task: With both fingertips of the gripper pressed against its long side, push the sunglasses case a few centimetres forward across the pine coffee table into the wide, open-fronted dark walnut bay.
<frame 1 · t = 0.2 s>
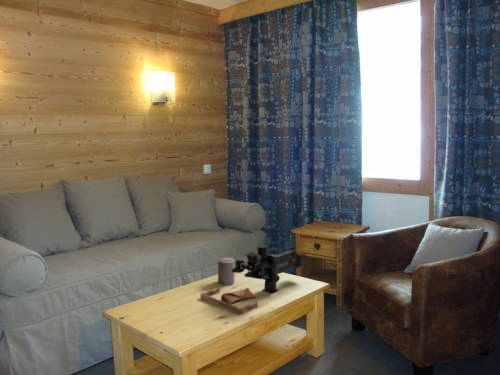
hand: (238, 273, 234), 16 cm above the table, tool horizontal, fingers open, 9 cm apart
sunglasses case: (239, 299, 243), on the table
pillar candle: (226, 282, 267), on the table
walnut bay: (228, 302, 238), on the table
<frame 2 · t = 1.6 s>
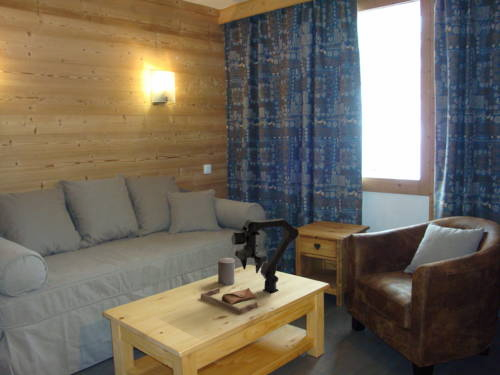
hand: (250, 271, 248), 13 cm above the table, tool pointing down, fingers open, 9 cm apart
nothing on the table moved.
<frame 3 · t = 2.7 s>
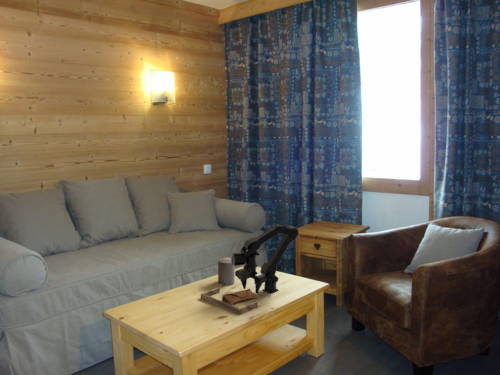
hand: (250, 290, 250), 2 cm above the table, tool pointing down, fingers open, 9 cm apart
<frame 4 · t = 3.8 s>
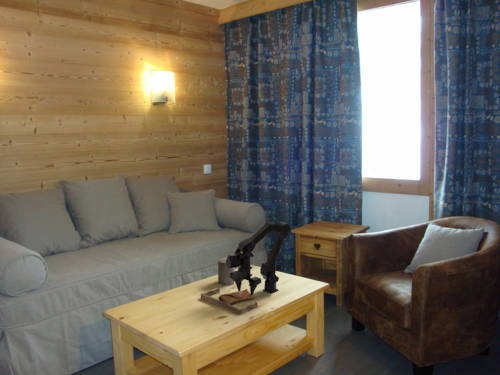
hand: (245, 293, 247), 2 cm above the table, tool pointing down, fingers open, 9 cm apart
sunglasses case: (237, 301, 241), on the table, touching gripper
everything else where it was.
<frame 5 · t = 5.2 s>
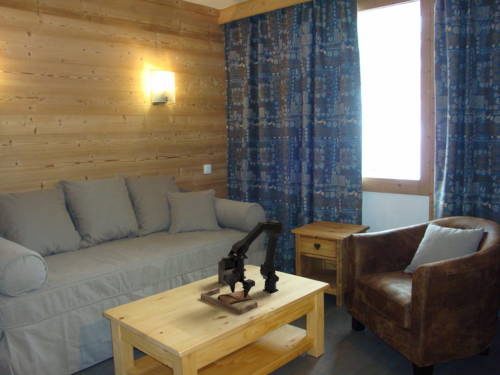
hand: (239, 295, 243), 2 cm above the table, tool pointing down, fingers open, 9 cm apart
sunglasses case: (235, 301, 241), on the table
everything else where it was.
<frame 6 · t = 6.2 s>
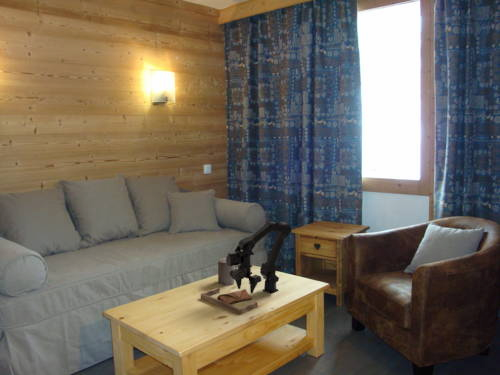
hand: (245, 291, 247), 3 cm above the table, tool pointing down, fingers open, 9 cm apart
nothing on the table moved.
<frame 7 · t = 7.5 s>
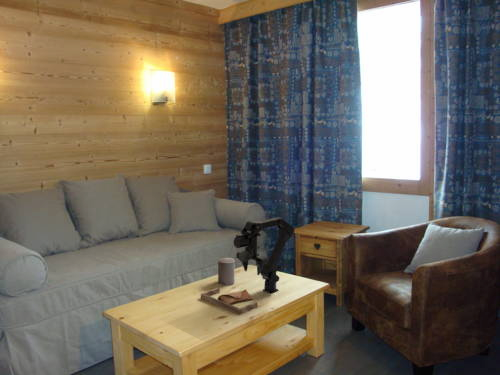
hand: (252, 273, 245), 13 cm above the table, tool pointing down, fingers open, 9 cm apart
nothing on the table moved.
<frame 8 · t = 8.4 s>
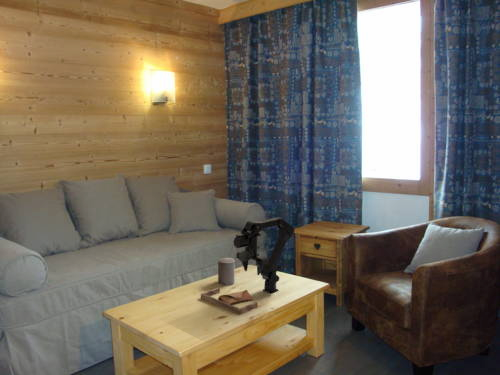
hand: (252, 273, 245), 13 cm above the table, tool pointing down, fingers open, 9 cm apart
nothing on the table moved.
at the end: sunglasses case inside the target area on the walnut bay (4.0 cm from its centre), point -0.7 cm above the walnut bay's base; sunglasses case moved 3.4 cm from its start; sunglasses case tilted 2° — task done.
